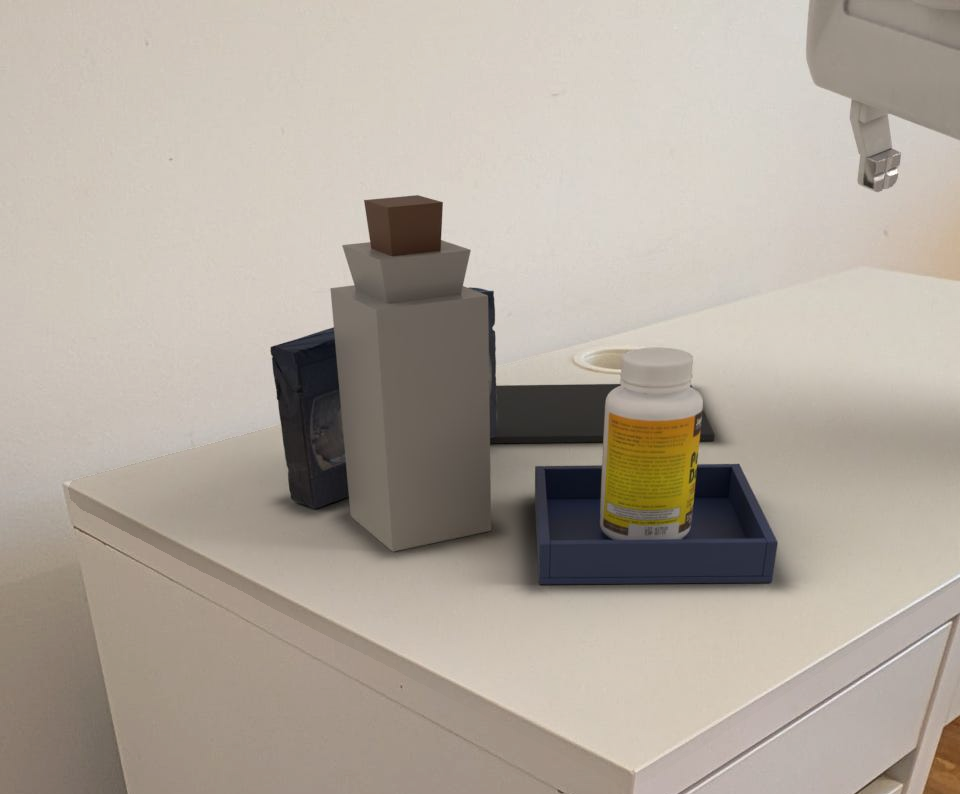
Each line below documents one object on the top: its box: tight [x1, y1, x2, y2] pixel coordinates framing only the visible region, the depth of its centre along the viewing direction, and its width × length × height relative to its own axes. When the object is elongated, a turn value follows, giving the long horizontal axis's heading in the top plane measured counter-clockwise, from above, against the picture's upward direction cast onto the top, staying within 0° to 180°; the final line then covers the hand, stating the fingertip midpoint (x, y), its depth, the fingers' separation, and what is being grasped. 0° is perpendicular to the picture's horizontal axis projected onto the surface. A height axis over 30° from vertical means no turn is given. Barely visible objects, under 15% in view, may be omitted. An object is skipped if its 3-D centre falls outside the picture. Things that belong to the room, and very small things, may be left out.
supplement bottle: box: [600, 346, 704, 540], centre depth 66 cm, size 6×6×10 cm
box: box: [534, 463, 779, 585], centre depth 69 cm, size 13×13×2 cm
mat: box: [490, 383, 716, 444], centre depth 90 cm, size 18×14×1 cm
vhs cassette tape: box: [270, 286, 497, 509], centre depth 77 cm, size 18×3×10 cm, turn 136°
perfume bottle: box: [330, 194, 492, 552], centre depth 67 cm, size 7×7×18 cm
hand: (932, 211), depth 65 cm, fingers open, 8 cm apart
